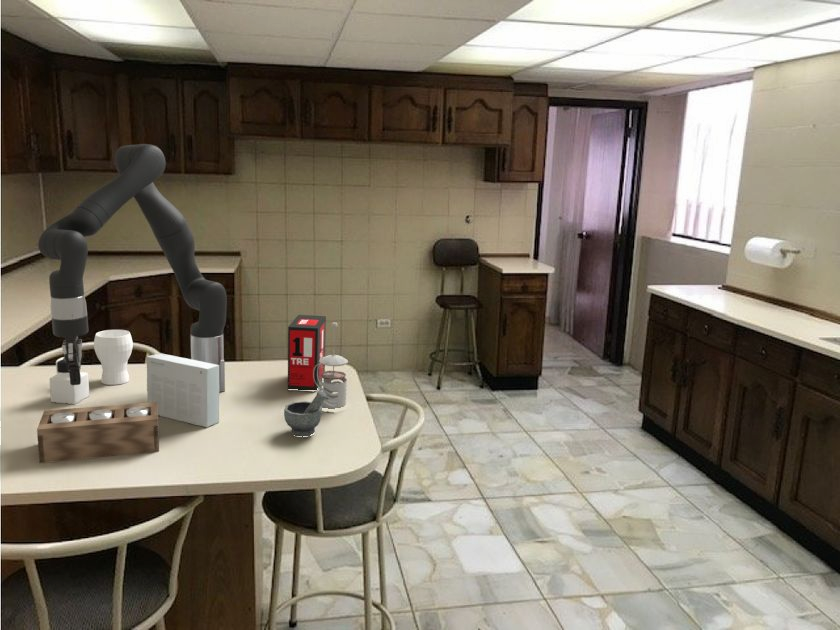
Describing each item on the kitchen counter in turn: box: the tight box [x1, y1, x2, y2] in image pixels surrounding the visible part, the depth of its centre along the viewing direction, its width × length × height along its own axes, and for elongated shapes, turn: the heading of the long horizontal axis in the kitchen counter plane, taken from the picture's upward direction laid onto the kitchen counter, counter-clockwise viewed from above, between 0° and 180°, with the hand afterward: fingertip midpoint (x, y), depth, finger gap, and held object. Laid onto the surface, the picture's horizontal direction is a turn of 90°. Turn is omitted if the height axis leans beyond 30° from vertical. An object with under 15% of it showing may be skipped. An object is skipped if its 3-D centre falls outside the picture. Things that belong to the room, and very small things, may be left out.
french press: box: [313, 322, 349, 409], centre depth 194 cm, size 10×12×25 cm
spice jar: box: [89, 409, 112, 420], centre depth 161 cm, size 5×5×5 cm
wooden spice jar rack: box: [36, 402, 160, 464], centre depth 162 cm, size 25×12×8 cm, turn 111°
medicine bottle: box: [49, 356, 90, 405], centre depth 190 cm, size 7×7×12 cm
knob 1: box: [51, 412, 75, 423], centre depth 158 cm, size 5×5×5 cm
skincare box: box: [146, 352, 220, 428], centre depth 181 cm, size 21×6×16 cm, turn 65°
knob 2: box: [127, 407, 148, 417], centre depth 164 cm, size 5×5×5 cm
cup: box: [93, 329, 134, 386], centre depth 206 cm, size 11×11×15 cm
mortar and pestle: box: [283, 390, 327, 437], centre depth 175 cm, size 11×9×12 cm
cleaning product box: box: [287, 314, 327, 391], centre depth 214 cm, size 16×9×20 cm, turn 179°
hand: (75, 383), depth 164 cm, fingers closed
